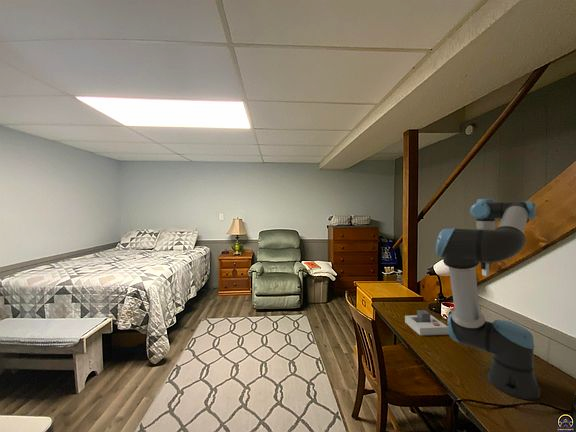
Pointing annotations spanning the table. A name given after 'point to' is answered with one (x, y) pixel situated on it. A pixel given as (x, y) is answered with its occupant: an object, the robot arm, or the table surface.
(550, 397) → the table surface
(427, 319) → the plug
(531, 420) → the table surface
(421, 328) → the socket plate
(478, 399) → the table surface
